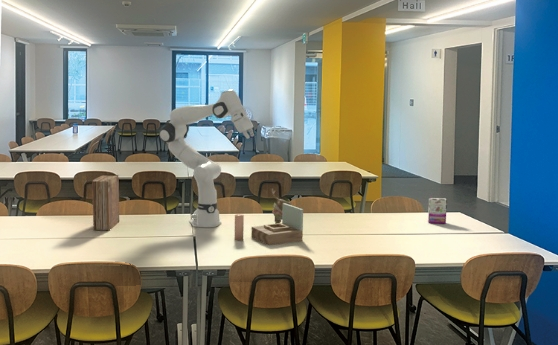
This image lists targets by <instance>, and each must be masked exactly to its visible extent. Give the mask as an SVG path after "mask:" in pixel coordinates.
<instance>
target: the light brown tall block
mask: <svg viewBox="0 0 558 345" xmlns="http://www.w3.org/2000/svg"><path fill="white" fill-rule="evenodd" d="M244 217H245V215H244V214H235V215H234V241H236V242H237V241H239V242H242V241H244V232H245V231H244V227H245V226H244V225H245V224H244V223H245V222H244V221H245V219H244Z"/></svg>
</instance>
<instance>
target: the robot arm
mask: <svg viewBox="0 0 558 345" xmlns="http://www.w3.org/2000/svg"><path fill="white" fill-rule="evenodd" d="M210 116H215V118H217V119H224V118H227V117H229V116H230V121H231V123H233V125H234V127H235V129H236V130H237V132H238V133H239V134H243V136H244V137H245V138H246V140H248V139H250V138H251V137H252V138H253V137H255V134H254V130H253V128H254V127H255V126H254V124H253V123H252V121H251V119H250V117H249V116H248V113H247V110H246V109H245V107H244V105H242V101H241V99H240V97H239V95H238V94H237V92H236V91H235V90H234V89H228V90H225V91H223V92H221V93H220V96H219V98H218V100H217V101H216V102H215V103H212V104H204V105H203V104H201V105H200V104H198V105H197V104H196V105H195V104H194V105H184V106H180V107H177V108H174V109H172V110H171V112H170V114H169V119H170V121H169V122H166V123H165V124H164V125H163V126H162V127H161V128H160V129H159V131H158V135H159V138H160V140H161V141H162V142H164V143H168V150H169V151H170V152H171V154H172V155H174V157H175V158H176V159H177V160H178V161H180V162H181V163H182V164H183V165H184V166H186V167H187V168H190V169H192V170H193V178H194V179H195V181H196V185H197V190H198V202H197V205H196V206H197V207H196V209H195V211H194V212H193V214H191V218H192V219H190V220H188V222H189V223H190V224H191V226H192V227H194V228H195V227H198V228H214V227H218V226H220V225H221V224H222V221H220V220H221V218H220V211H219V210H218V202H217V198H218V197H217V196H218V195H217V189H216V187H215V184H214V180H216V179H217V178H218V177H219V176H220V175H221V173H222V167H221V166H220V164H219V163H217V162H214V161H213V160H211V159H210V158H208V157H206V156H205V155H203V154H201V153H199V152H198V151H197V150H196V149H195V148H193V147H192V146H191V145H190V144H188V143H187V142H186V141H185V139H186V138H187V136H188V133H189V132H190V125H191V124H195V123H197V122H199V121H202V120H204V119H206V118H208V117H210ZM248 132H249V133H248ZM249 134H250V135H249Z"/></svg>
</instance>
